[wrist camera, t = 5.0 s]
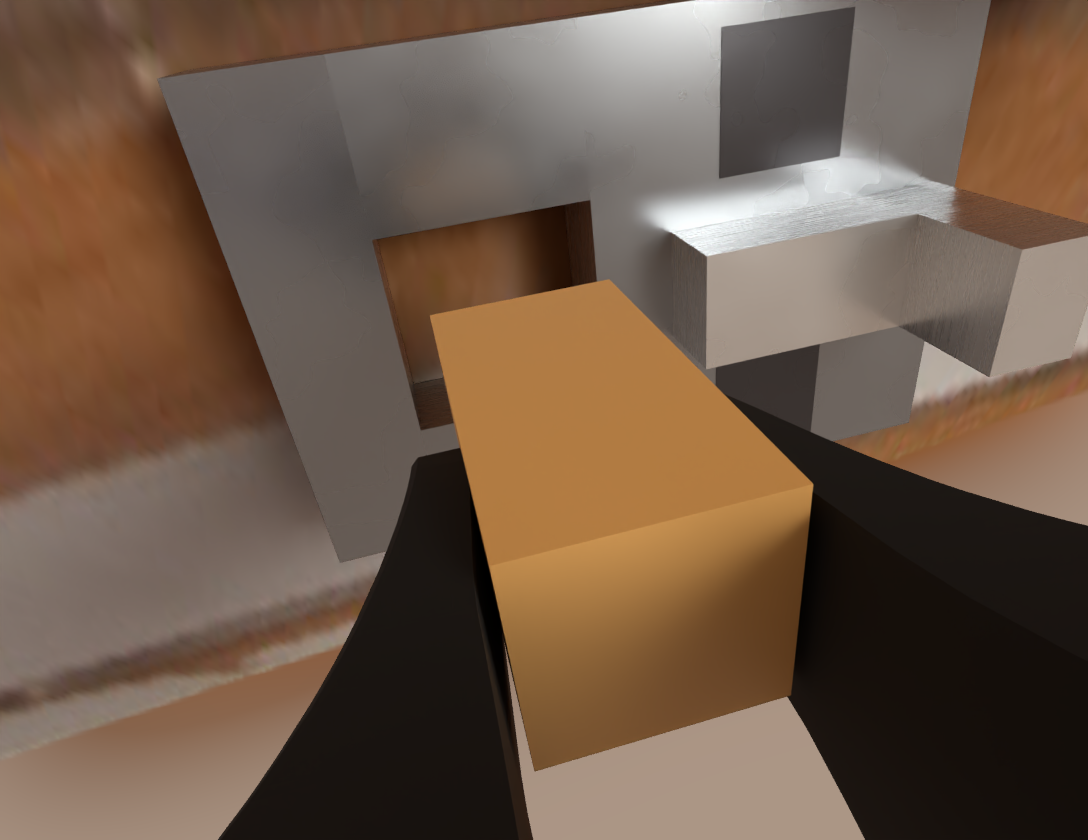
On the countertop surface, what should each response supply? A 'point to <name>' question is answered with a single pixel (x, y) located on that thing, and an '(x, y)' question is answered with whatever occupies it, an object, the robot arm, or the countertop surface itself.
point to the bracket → (885, 278)
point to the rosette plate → (559, 191)
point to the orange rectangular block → (621, 521)
